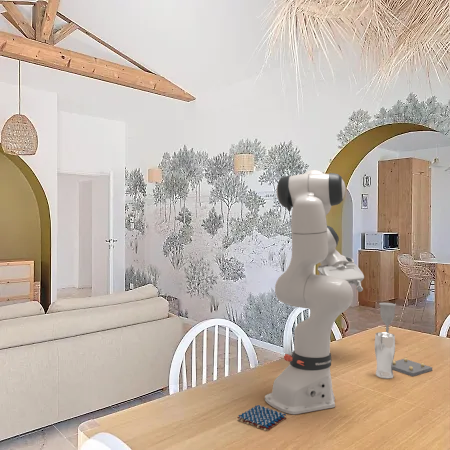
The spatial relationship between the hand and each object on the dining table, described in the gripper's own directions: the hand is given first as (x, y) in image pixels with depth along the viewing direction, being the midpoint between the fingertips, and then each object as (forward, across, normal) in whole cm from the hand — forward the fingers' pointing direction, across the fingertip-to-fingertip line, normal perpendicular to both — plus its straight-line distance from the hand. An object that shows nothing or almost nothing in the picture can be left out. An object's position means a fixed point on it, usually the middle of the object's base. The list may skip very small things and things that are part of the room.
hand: (352, 291), depth 171 cm
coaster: (+31, +14, +9) cm, 35 cm away
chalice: (+13, +36, +28) cm, 47 cm away
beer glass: (+31, 0, +9) cm, 32 cm away
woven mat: (+34, -59, +7) cm, 68 cm away
